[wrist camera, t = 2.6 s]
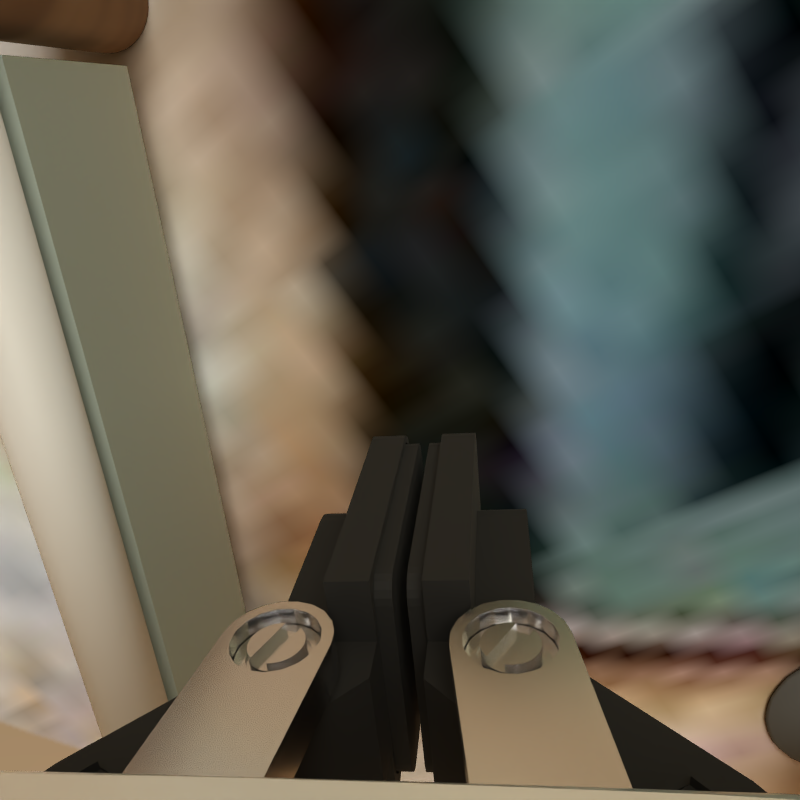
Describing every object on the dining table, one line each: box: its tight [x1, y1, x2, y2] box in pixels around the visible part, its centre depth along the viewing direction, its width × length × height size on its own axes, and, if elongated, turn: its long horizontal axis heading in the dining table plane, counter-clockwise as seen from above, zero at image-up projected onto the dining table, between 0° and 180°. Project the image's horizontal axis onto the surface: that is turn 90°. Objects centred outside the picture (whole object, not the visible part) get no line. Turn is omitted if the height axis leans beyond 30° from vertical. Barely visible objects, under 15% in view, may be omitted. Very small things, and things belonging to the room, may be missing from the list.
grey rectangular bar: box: [0, 55, 246, 738], centre depth 18 cm, size 18×2×7 cm, turn 5°
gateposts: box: [0, 0, 148, 53], centre depth 17 cm, size 23×2×9 cm, turn 5°
